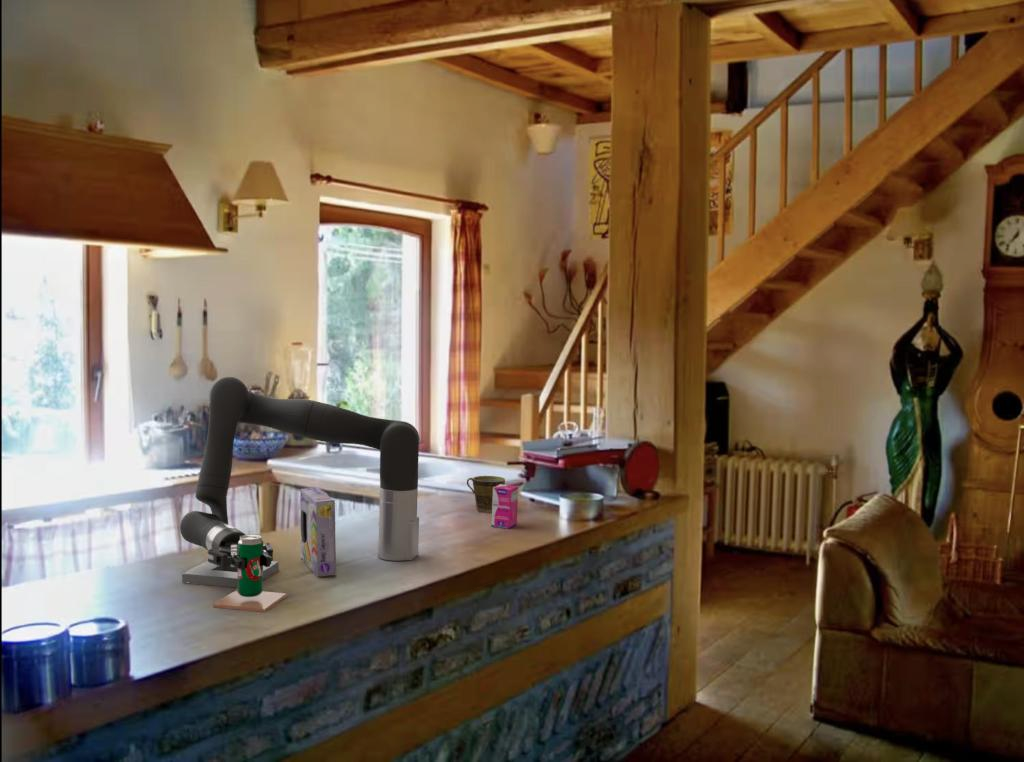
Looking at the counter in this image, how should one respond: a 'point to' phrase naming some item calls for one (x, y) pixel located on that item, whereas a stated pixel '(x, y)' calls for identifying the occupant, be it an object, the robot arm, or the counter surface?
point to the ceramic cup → (485, 491)
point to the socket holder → (220, 574)
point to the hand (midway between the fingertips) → (256, 563)
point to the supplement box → (504, 506)
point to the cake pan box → (318, 531)
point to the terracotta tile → (250, 601)
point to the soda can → (250, 565)
